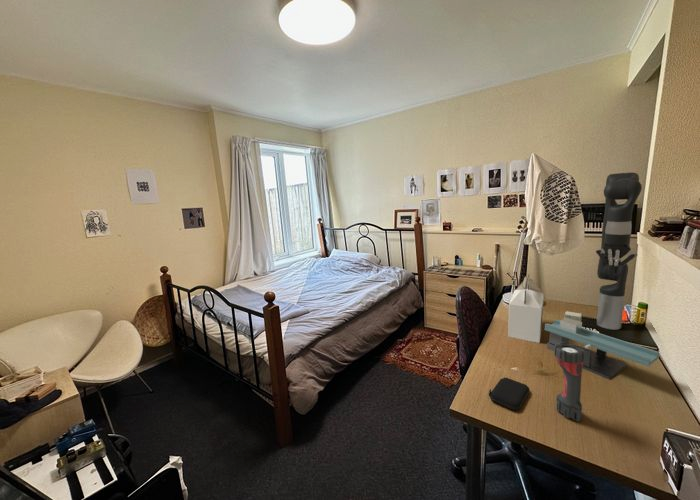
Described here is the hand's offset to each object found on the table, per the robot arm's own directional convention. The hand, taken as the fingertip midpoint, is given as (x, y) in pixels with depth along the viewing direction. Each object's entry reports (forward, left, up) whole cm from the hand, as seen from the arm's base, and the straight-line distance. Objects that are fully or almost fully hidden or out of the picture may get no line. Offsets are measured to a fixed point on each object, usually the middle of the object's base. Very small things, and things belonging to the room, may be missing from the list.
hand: (613, 274), depth 118 cm
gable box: (+8, -30, -35) cm, 47 cm away
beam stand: (+13, -3, -35) cm, 37 cm away
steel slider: (+14, -8, -25) cm, 29 cm away
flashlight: (+50, +9, -35) cm, 62 cm away
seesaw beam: (+13, +1, -32) cm, 35 cm away
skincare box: (-2, -14, -35) cm, 38 cm away
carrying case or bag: (+58, -5, -36) cm, 68 cm away
